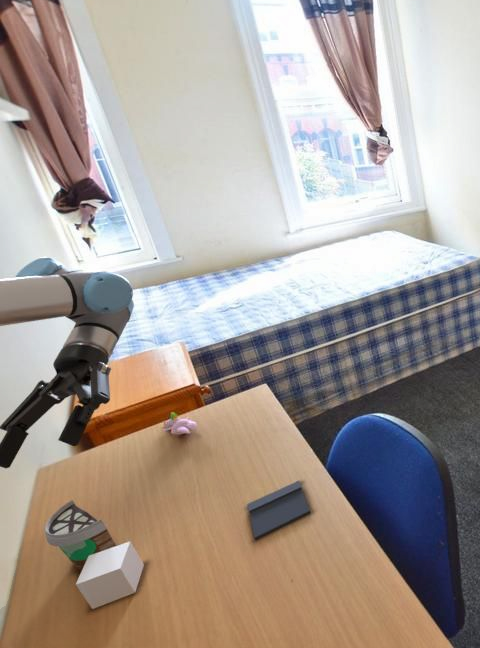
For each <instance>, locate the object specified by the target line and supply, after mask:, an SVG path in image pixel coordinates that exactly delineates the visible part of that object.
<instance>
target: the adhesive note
mask: <svg viewBox="0 0 480 648" xmlns="http://www.w3.org/2000/svg"><path fill="white" fill-rule="evenodd" d="M144 566H145V564H144V562H143V560H142V559H141V557H140V555H139V554H138V551H137V550H136V548H135V547H134V545H133V544H132V541H131V540H129V541H126V542H124V543H121V544H117V545H116V546H115V547H112V548H109V549H107V550H104V551H101V552H98V553H95V554H92V555H90V556H88V559H87V561H86V563H85V565H84V567H83V570H82V571H80V574H79V576H78V578H77V581H76V583H75V587H77V589H78V591H79V592H80V593H81V595H82V596H83V598H84V600H85V601H86V602H87V604H88V605H89V607H90V609H92V610H95V609H96V608H99V607H102V606H104V605H106V604H107V605H108V604H109V603H112V602H115V601H117V600H120V599H122V598H125V597H128V596H130V595H133V594H136V593H137V592H136V591H137V588H138V585H139V582H140V579H141V575H142V572H143V569H144Z"/></svg>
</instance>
